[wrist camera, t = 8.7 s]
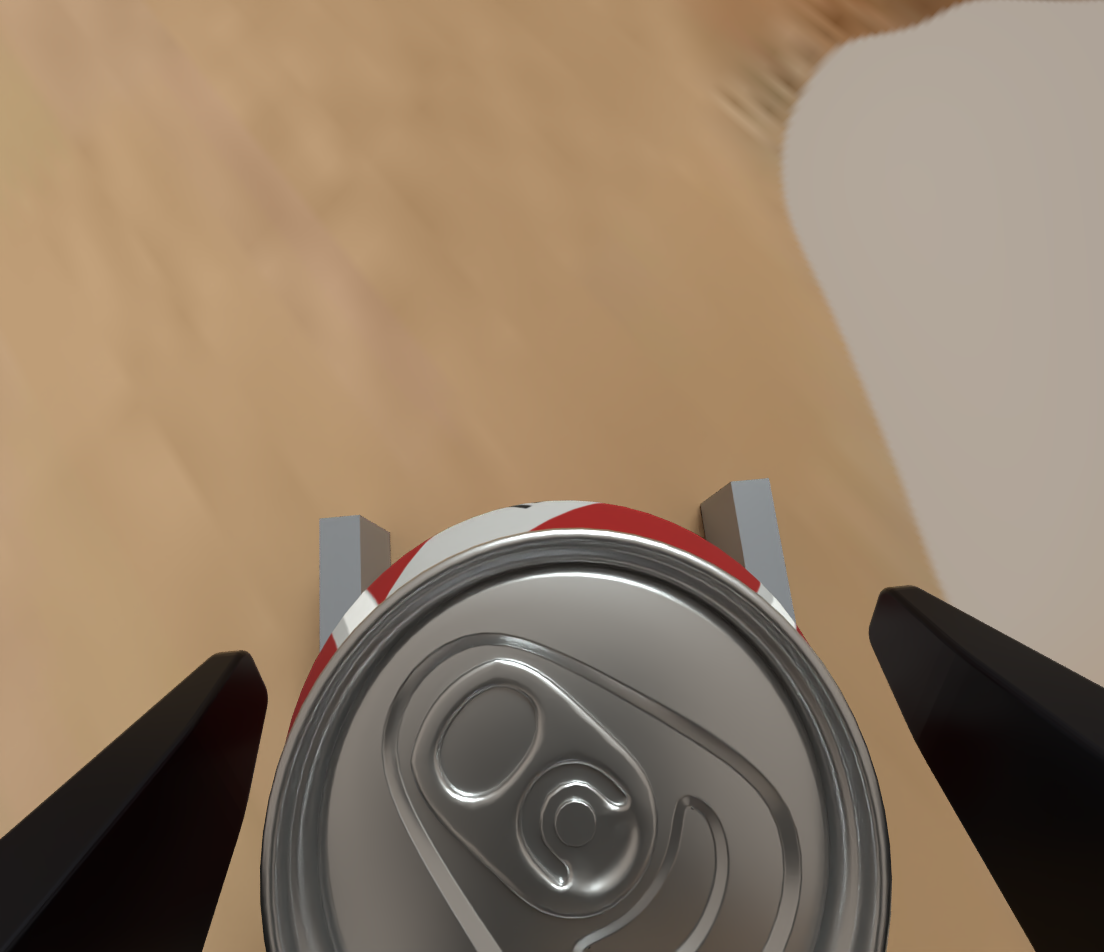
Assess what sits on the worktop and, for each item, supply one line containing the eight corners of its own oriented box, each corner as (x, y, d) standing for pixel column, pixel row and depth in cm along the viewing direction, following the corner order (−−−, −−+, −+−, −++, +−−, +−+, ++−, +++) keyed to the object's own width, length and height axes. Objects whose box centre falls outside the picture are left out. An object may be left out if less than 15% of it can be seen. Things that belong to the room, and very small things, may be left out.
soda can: (566, 874, 16) (638, 1624, 4) (384, 699, 17) (12, 892, 5) (718, 671, 17) (1107, 791, 5) (540, 520, 18) (539, 337, 6)
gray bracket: (798, 886, 16) (856, 947, 13) (363, 937, 15) (320, 1013, 12) (732, 500, 18) (768, 478, 15) (356, 535, 18) (319, 518, 15)
